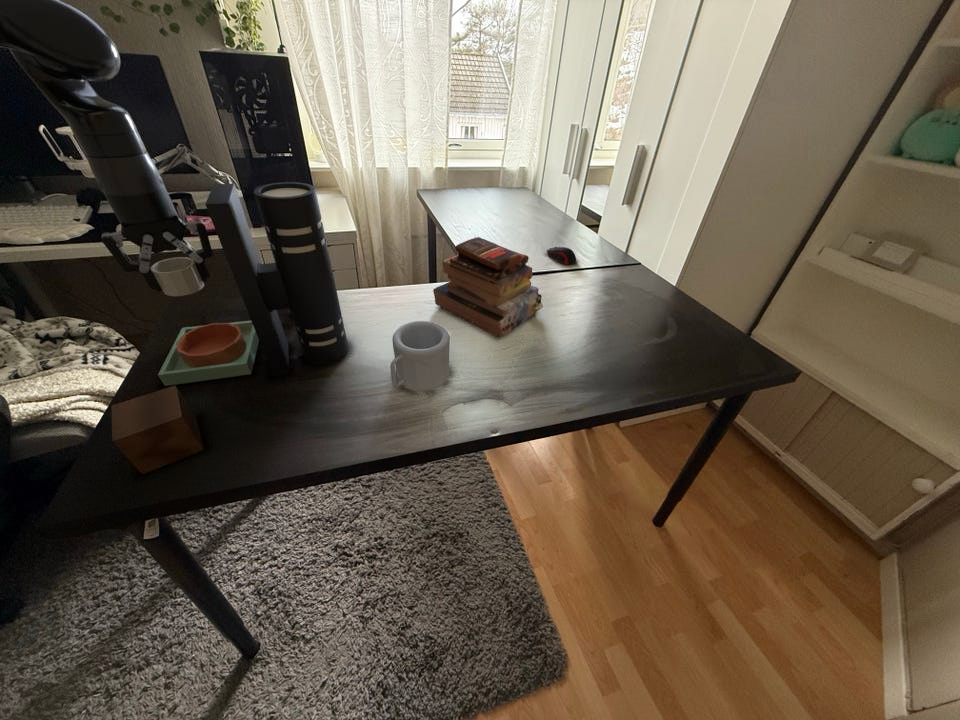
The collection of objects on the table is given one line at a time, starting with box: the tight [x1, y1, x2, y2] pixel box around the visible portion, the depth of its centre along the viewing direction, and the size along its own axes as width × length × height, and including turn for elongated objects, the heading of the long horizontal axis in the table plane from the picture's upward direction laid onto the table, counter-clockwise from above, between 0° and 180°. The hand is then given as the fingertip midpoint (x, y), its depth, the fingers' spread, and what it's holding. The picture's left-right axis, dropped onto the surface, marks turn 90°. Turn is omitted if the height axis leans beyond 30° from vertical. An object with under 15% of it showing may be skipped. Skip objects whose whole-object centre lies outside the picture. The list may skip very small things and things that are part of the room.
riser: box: [111, 385, 205, 475], centre depth 58 cm, size 8×8×8 cm
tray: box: [157, 320, 260, 387], centre depth 77 cm, size 16×15×3 cm
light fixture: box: [204, 181, 350, 378], centre depth 69 cm, size 10×15×33 cm
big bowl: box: [176, 322, 246, 368], centre depth 76 cm, size 11×11×4 cm
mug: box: [390, 320, 451, 392], centre depth 73 cm, size 14×11×10 cm
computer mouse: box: [546, 246, 577, 266], centre depth 125 cm, size 6×11×4 cm, turn 32°
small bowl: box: [150, 256, 205, 297], centre depth 66 cm, size 6×6×4 cm
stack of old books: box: [432, 236, 544, 339], centre depth 92 cm, size 23×18×17 cm
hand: (182, 284), depth 67 cm, fingers closed on small bowl, 6 cm apart
